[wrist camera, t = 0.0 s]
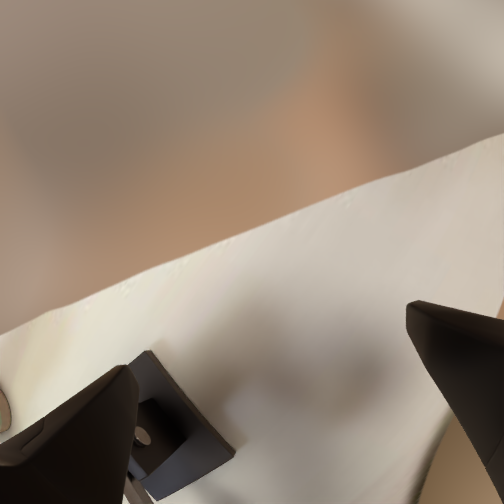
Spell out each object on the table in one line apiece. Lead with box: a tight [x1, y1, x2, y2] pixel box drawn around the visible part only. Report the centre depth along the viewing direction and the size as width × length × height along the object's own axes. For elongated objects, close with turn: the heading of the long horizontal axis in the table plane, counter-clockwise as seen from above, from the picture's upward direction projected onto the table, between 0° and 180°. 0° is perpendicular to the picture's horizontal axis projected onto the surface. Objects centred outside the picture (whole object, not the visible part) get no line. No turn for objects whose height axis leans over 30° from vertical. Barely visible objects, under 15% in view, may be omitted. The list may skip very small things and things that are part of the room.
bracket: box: [128, 351, 236, 501], centre depth 18 cm, size 11×9×9 cm
